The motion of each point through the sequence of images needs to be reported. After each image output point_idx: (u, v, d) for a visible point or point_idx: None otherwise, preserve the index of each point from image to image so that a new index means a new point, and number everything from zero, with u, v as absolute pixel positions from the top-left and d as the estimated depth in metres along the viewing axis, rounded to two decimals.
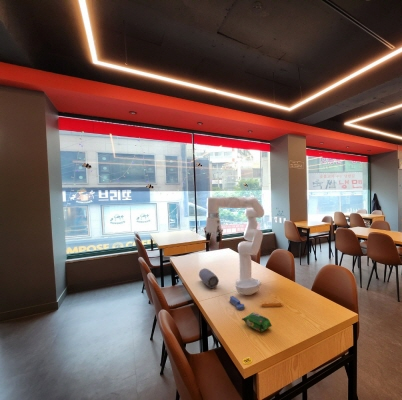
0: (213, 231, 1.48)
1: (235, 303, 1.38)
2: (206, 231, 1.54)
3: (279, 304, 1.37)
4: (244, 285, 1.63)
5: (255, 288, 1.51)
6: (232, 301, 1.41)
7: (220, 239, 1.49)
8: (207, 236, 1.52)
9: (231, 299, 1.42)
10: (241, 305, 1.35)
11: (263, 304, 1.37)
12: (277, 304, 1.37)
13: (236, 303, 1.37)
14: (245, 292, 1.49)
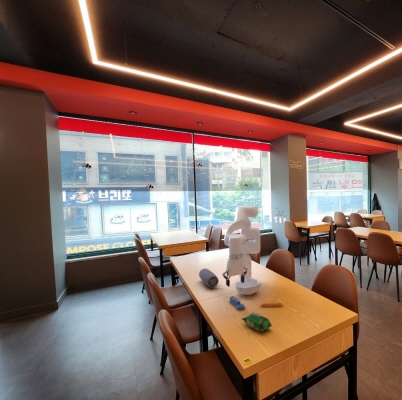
0: (240, 272, 1.39)
1: (235, 303, 1.38)
2: (225, 276, 1.35)
3: (279, 304, 1.37)
4: (244, 285, 1.63)
5: (255, 288, 1.51)
6: (232, 301, 1.41)
7: None
8: None
9: (231, 299, 1.42)
10: (241, 305, 1.35)
11: (263, 304, 1.37)
12: (277, 304, 1.37)
13: (236, 303, 1.37)
14: (245, 292, 1.49)
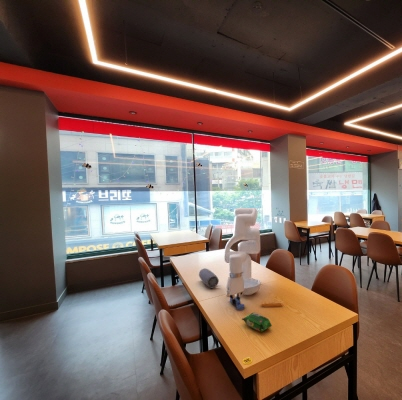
0: (240, 290, 1.39)
1: None
2: None
3: (279, 304, 1.37)
4: (244, 285, 1.63)
5: (255, 288, 1.51)
6: None
7: None
8: None
9: (231, 299, 1.42)
10: (241, 305, 1.35)
11: (263, 304, 1.37)
12: (277, 304, 1.37)
13: (236, 303, 1.37)
14: (245, 292, 1.49)
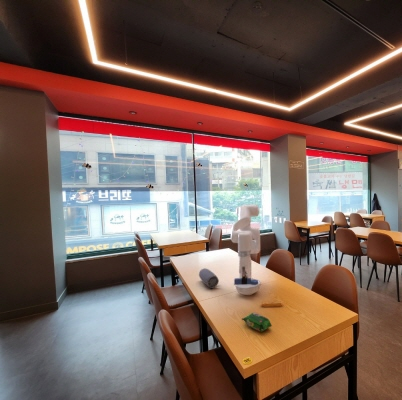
0: (248, 268, 1.39)
1: None
2: None
3: (279, 304, 1.37)
4: (244, 285, 1.63)
5: (255, 288, 1.51)
6: (239, 282, 1.36)
7: None
8: None
9: (237, 281, 1.36)
10: (255, 280, 1.38)
11: (263, 304, 1.37)
12: (277, 304, 1.37)
13: (248, 281, 1.36)
14: (245, 292, 1.49)
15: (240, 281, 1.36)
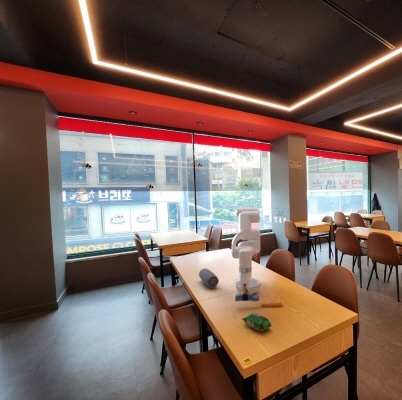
0: None
1: None
2: None
3: (279, 304, 1.37)
4: None
5: (255, 288, 1.51)
6: (240, 298, 1.36)
7: None
8: None
9: (238, 297, 1.36)
10: (256, 296, 1.38)
11: (263, 304, 1.37)
12: (277, 304, 1.37)
13: (249, 297, 1.36)
14: None
15: (241, 297, 1.36)
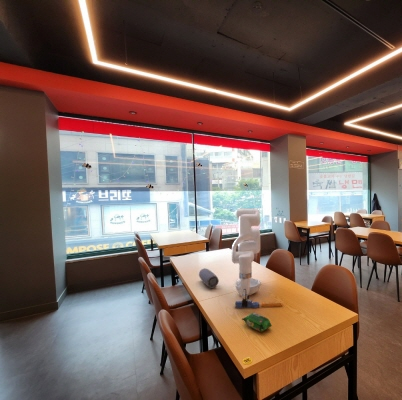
0: None
1: None
2: None
3: (279, 304, 1.37)
4: None
5: (255, 288, 1.51)
6: (240, 305, 1.36)
7: None
8: None
9: (238, 304, 1.36)
10: (256, 303, 1.38)
11: (263, 304, 1.37)
12: (277, 304, 1.37)
13: (249, 304, 1.36)
14: None
15: (241, 304, 1.36)
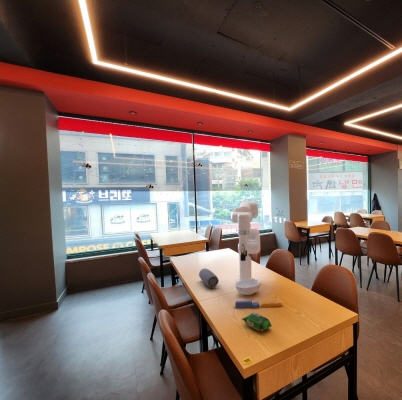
0: (247, 246, 1.50)
1: (247, 304, 1.36)
2: None
3: (279, 304, 1.37)
4: (244, 285, 1.63)
5: (255, 288, 1.51)
6: (240, 305, 1.36)
7: None
8: None
9: (238, 304, 1.36)
10: (256, 303, 1.38)
11: (263, 304, 1.37)
12: (277, 304, 1.37)
13: (249, 304, 1.36)
14: (245, 292, 1.49)
15: (241, 304, 1.36)
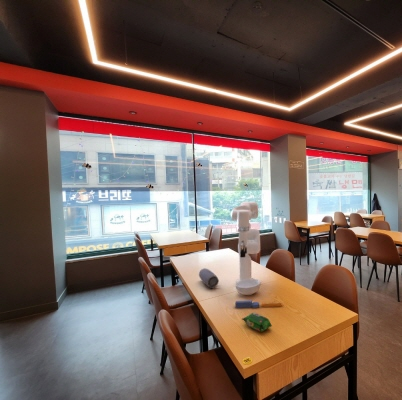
0: None
1: (247, 304, 1.36)
2: None
3: (279, 304, 1.37)
4: (244, 285, 1.63)
5: (255, 288, 1.51)
6: (240, 305, 1.36)
7: None
8: None
9: (238, 304, 1.36)
10: (256, 303, 1.38)
11: (263, 304, 1.37)
12: (277, 304, 1.37)
13: (249, 304, 1.36)
14: (245, 292, 1.49)
15: (241, 304, 1.36)
